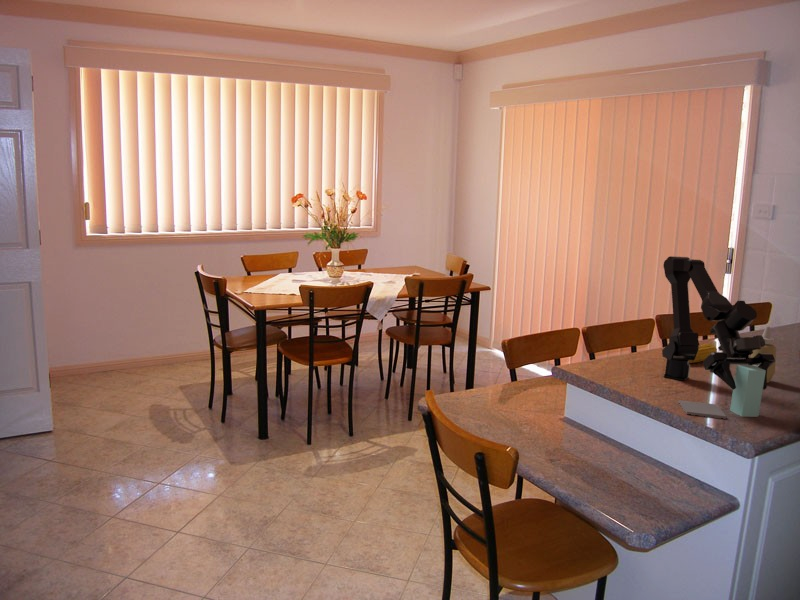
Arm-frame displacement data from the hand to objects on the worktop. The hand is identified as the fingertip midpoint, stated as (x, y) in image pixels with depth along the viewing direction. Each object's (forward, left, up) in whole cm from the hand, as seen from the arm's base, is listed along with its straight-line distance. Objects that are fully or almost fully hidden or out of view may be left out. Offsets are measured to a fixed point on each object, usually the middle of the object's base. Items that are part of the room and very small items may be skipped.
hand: (749, 388), depth 181 cm
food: (-20, +53, -8) cm, 58 cm away
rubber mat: (-11, -5, -7) cm, 14 cm away
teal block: (-1, +1, -7) cm, 7 cm away
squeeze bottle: (0, +42, -7) cm, 42 cm away
